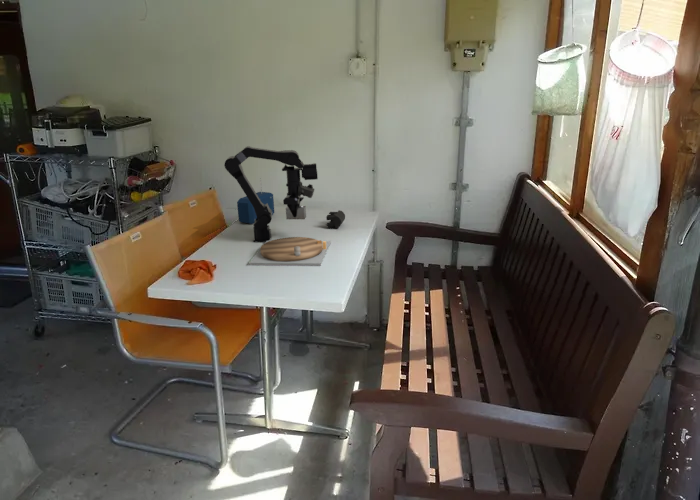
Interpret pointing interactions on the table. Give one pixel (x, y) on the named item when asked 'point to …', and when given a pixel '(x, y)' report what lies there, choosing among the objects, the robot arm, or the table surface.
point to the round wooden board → (291, 249)
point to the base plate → (313, 261)
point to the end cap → (335, 219)
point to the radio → (247, 209)
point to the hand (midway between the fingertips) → (296, 215)
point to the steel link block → (300, 213)
